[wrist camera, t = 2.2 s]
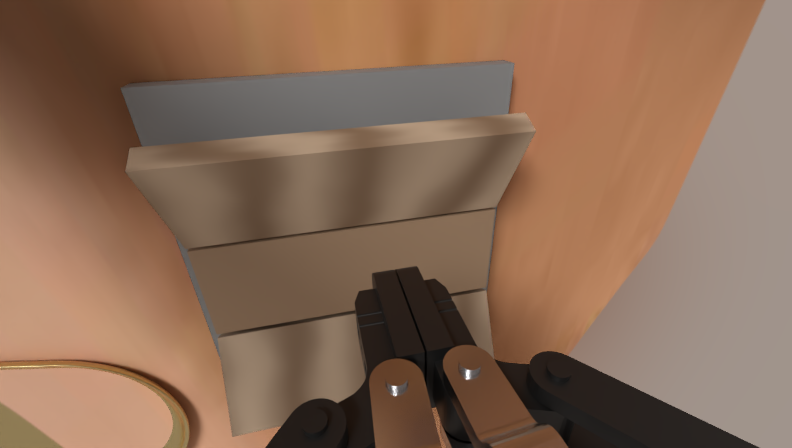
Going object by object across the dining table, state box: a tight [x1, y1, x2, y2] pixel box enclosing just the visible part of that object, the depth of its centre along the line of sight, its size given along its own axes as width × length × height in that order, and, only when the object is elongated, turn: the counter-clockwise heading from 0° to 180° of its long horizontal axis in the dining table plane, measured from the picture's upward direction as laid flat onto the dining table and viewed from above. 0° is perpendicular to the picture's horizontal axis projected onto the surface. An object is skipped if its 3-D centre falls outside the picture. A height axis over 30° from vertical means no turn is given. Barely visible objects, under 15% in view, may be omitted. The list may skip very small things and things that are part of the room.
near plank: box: [125, 113, 536, 249], centre depth 24 cm, size 22×8×2 cm, turn 92°
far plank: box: [218, 288, 494, 437], centre depth 32 cm, size 22×8×2 cm, turn 92°
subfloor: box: [121, 60, 514, 359], centre depth 31 cm, size 24×28×3 cm
